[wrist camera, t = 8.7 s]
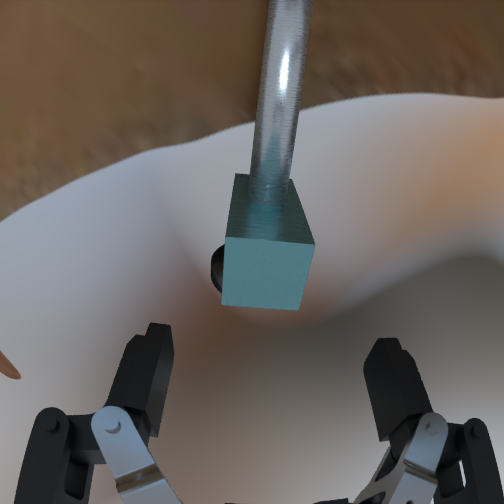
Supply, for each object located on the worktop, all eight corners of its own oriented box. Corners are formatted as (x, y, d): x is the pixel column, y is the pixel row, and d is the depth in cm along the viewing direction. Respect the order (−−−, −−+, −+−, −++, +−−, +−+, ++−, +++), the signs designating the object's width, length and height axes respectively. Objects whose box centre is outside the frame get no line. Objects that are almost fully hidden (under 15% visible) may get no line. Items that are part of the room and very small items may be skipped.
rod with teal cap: (334, -28, 12) (383, -80, 5) (293, 244, 24) (311, 327, 16) (243, -41, 12) (238, -107, 5) (217, 237, 24) (202, 320, 16)
